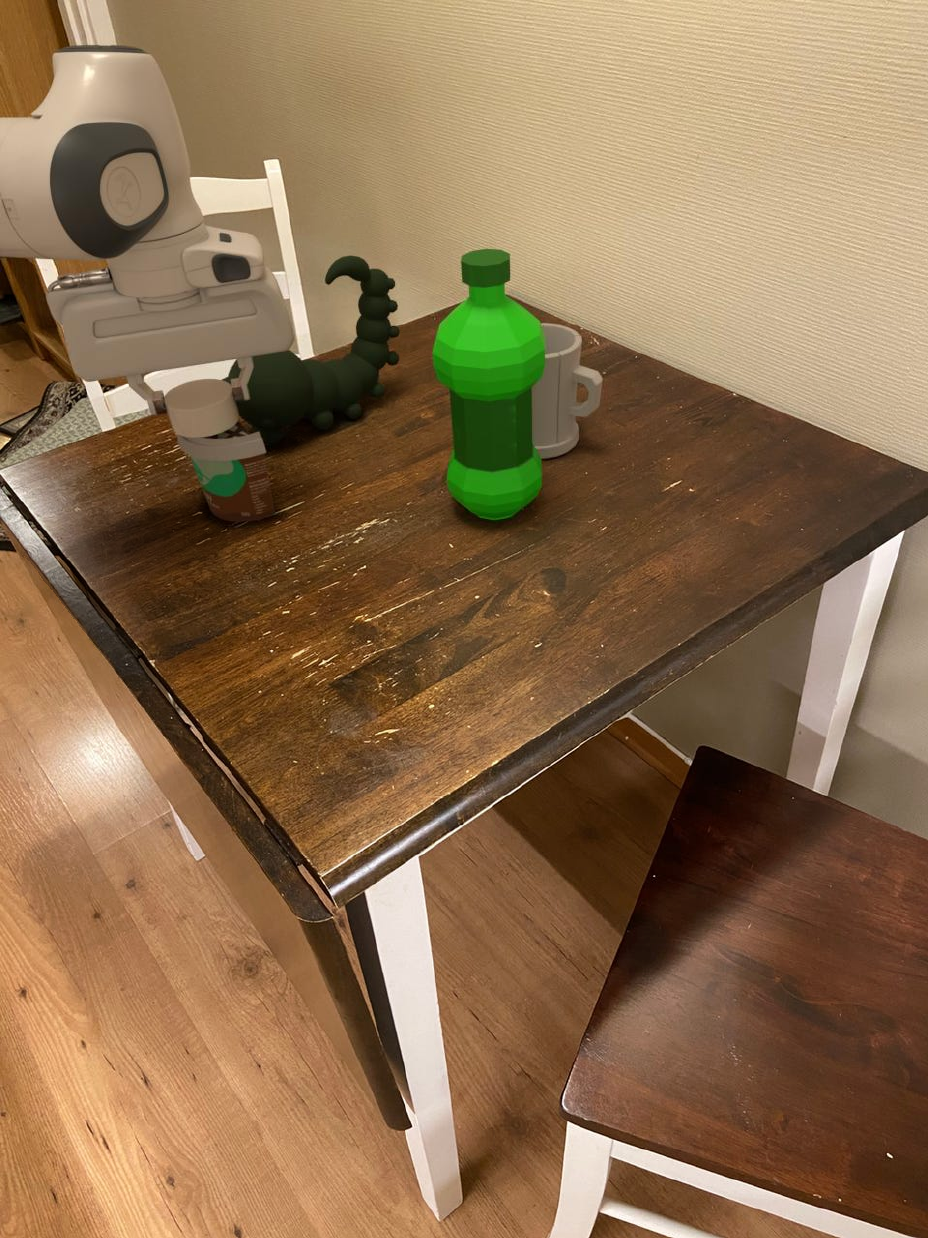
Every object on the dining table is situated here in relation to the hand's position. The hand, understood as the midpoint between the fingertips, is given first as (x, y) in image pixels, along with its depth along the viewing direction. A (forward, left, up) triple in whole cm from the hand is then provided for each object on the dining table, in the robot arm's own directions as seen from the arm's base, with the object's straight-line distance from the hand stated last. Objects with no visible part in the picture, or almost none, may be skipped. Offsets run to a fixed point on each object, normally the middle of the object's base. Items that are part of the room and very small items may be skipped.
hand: (201, 405), depth 86 cm
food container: (0, 0, -12) cm, 12 cm away
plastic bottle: (+27, -9, -12) cm, 31 cm away
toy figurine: (+11, +15, -12) cm, 23 cm away
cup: (+36, +2, -12) cm, 38 cm away
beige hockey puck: (0, 0, -2) cm, 2 cm away
